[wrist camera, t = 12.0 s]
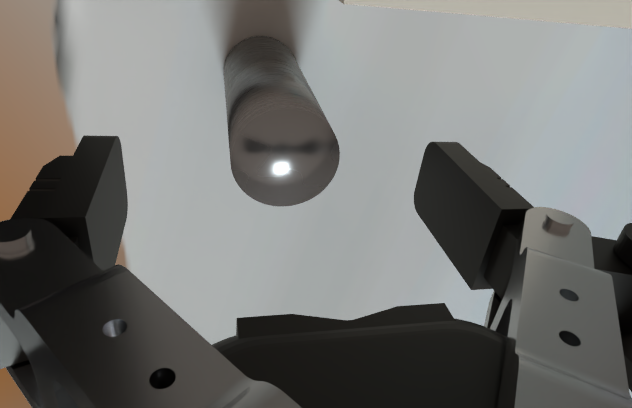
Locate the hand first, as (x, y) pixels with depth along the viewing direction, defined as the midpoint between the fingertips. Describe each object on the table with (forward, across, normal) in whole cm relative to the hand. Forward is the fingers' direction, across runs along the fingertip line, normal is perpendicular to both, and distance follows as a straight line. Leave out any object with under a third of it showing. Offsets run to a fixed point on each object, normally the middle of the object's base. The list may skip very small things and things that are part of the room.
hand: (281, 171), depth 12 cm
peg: (+9, 0, 0) cm, 9 cm away
